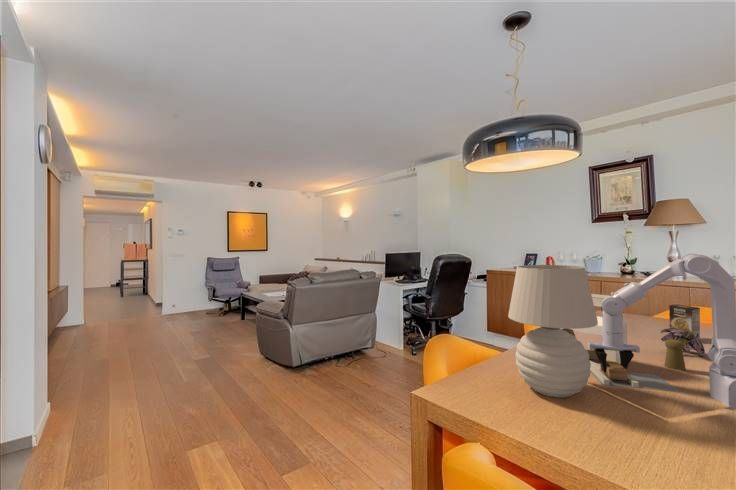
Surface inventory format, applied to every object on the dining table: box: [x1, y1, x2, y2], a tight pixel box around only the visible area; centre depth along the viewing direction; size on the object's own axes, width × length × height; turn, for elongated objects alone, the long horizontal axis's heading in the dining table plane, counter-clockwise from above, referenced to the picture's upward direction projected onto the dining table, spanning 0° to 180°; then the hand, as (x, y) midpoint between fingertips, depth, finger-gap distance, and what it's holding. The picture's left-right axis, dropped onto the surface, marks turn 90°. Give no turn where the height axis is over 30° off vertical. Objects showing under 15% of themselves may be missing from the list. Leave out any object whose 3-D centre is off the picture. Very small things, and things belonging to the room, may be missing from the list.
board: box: [590, 366, 682, 393], centre depth 112 cm, size 14×21×3 cm, turn 73°
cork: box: [664, 339, 687, 373], centre depth 122 cm, size 6×6×11 cm
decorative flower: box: [660, 327, 706, 358], centre depth 138 cm, size 15×12×15 cm
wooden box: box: [599, 360, 628, 380], centre depth 113 cm, size 8×5×4 cm, turn 163°
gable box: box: [560, 293, 628, 370], centre depth 130 cm, size 22×13×28 cm, turn 38°
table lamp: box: [507, 264, 598, 399], centre depth 107 cm, size 25×25×40 cm
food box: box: [668, 304, 701, 341], centre depth 158 cm, size 9×6×16 cm
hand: (613, 371), depth 113 cm, fingers closed on wooden box, 5 cm apart
